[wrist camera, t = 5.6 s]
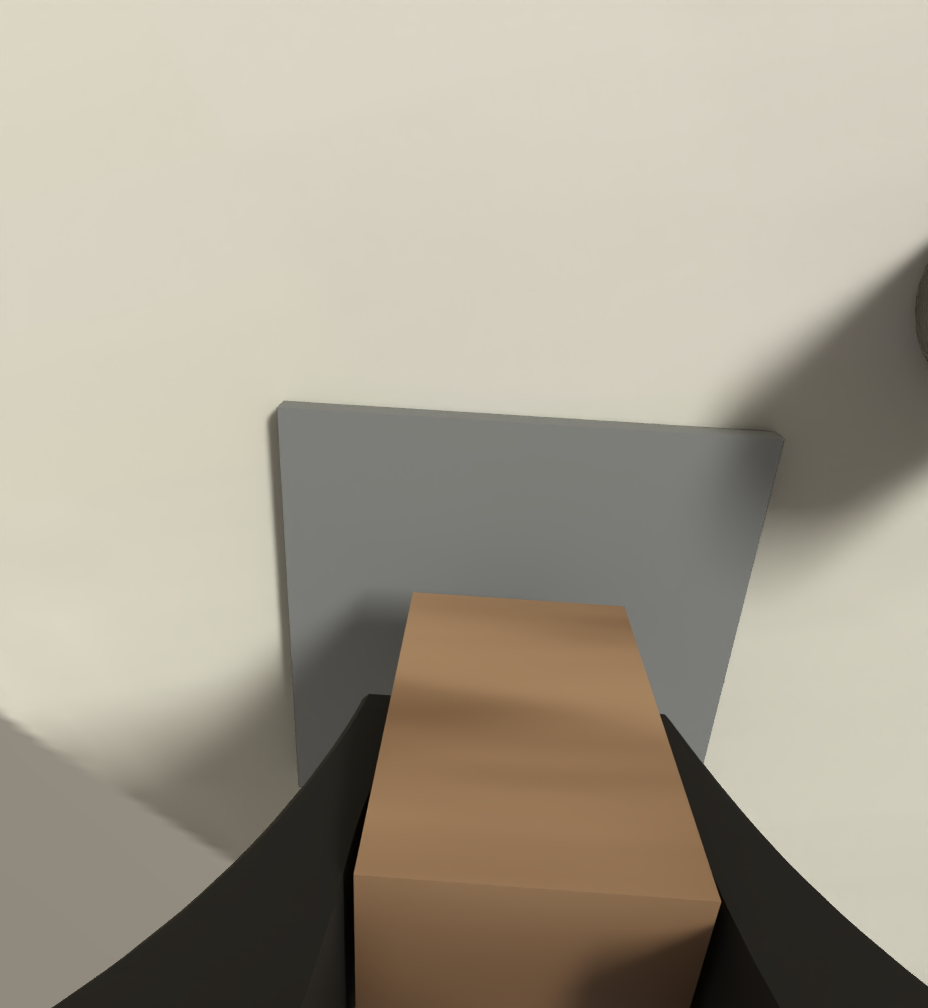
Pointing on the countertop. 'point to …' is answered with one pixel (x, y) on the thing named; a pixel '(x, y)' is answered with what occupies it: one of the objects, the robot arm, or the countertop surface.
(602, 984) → the walnut block
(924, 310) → the shiny grey rounded piece
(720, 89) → the countertop surface
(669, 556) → the slate mat
